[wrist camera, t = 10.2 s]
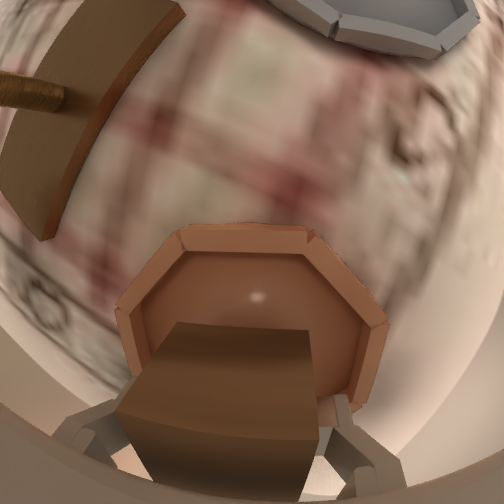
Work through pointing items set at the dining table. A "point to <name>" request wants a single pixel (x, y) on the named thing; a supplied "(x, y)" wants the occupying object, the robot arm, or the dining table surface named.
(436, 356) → the dining table surface
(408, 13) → the slate dish
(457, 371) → the dining table surface
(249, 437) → the walnut block
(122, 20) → the brass balance
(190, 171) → the dining table surface
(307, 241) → the terracotta dish
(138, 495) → the robot arm
